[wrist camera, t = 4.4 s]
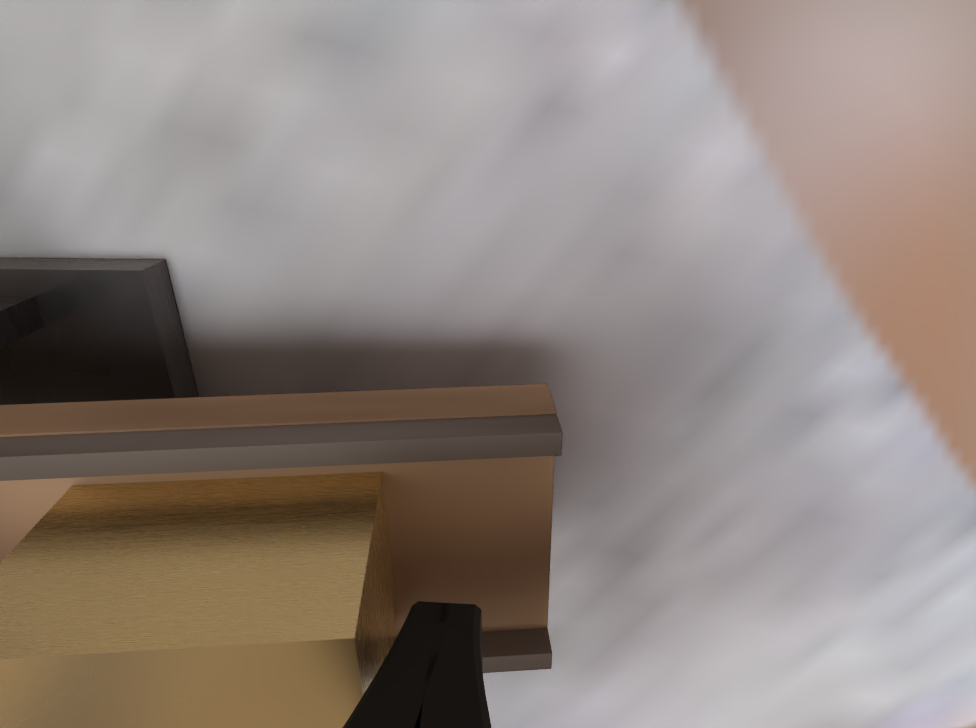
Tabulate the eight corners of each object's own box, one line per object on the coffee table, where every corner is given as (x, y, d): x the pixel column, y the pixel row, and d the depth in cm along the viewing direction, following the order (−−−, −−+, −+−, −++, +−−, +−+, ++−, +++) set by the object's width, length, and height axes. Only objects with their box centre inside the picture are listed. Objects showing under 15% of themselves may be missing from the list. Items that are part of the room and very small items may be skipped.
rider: (396, 617, 14) (379, 807, 10) (125, 632, 13) (8, 835, 10) (382, 471, 12) (354, 637, 8) (71, 485, 12) (-95, 664, 8)
